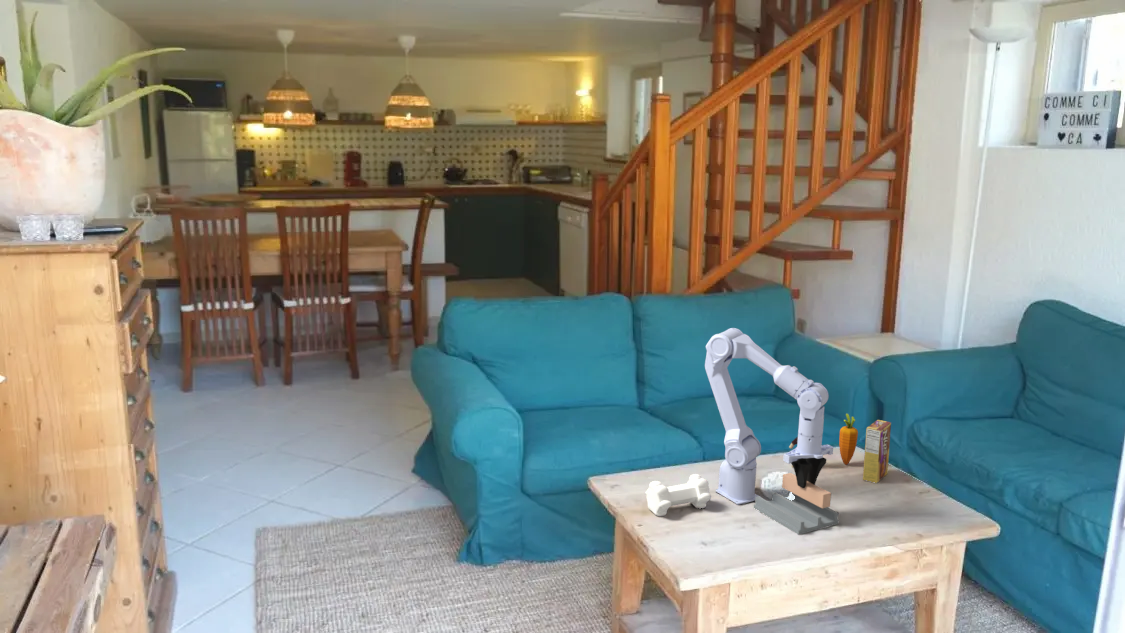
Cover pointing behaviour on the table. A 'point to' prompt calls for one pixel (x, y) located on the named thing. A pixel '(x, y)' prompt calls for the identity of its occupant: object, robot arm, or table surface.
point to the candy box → (876, 451)
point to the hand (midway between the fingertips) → (806, 485)
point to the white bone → (677, 494)
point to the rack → (797, 513)
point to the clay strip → (807, 491)
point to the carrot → (848, 440)
